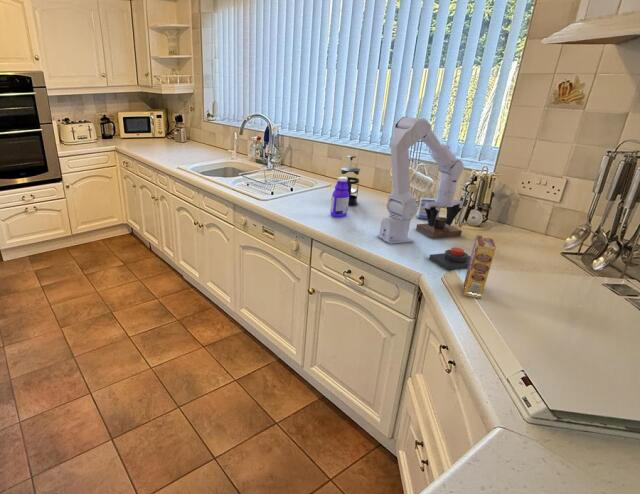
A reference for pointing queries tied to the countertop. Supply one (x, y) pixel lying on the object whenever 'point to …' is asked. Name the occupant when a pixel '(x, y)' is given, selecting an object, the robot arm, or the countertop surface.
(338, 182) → the bottle
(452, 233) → the panel
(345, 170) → the french press
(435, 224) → the dimmer knob
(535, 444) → the countertop surface
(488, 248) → the candy box
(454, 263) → the switch block
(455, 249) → the switch button
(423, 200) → the medicine box
